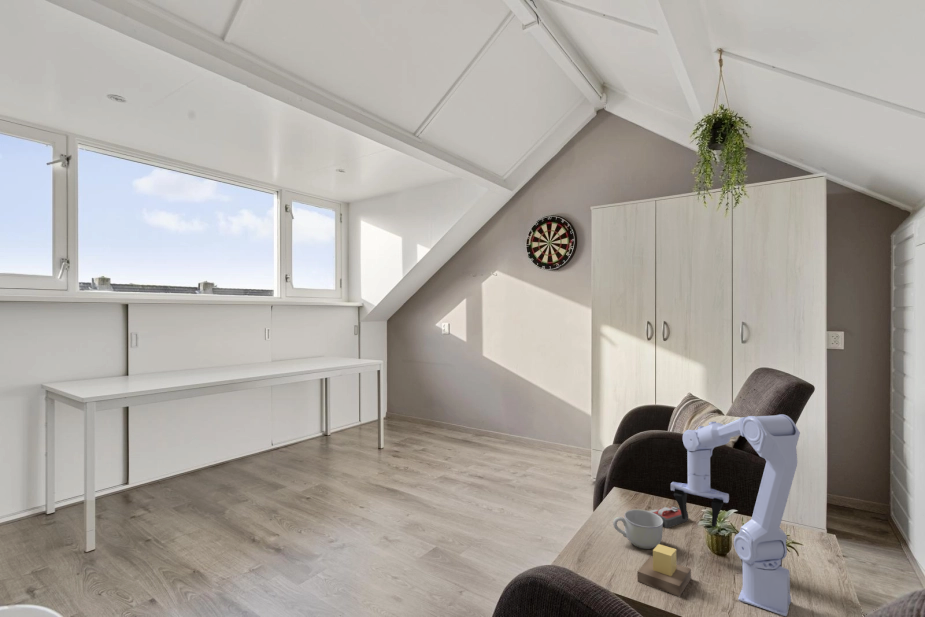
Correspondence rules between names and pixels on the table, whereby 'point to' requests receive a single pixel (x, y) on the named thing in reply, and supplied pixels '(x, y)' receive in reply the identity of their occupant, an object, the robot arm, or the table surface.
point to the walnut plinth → (664, 578)
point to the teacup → (641, 528)
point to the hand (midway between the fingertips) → (699, 521)
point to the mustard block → (664, 559)
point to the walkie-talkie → (670, 516)
